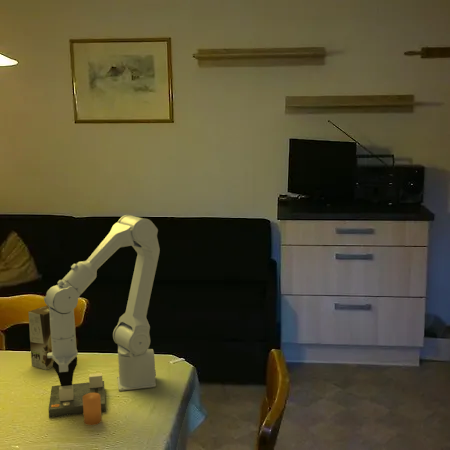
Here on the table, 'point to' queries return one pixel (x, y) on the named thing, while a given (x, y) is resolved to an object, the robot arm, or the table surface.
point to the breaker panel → (75, 405)
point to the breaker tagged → (66, 393)
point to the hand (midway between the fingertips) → (66, 388)
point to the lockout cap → (92, 408)
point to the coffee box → (40, 337)
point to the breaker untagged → (95, 380)
